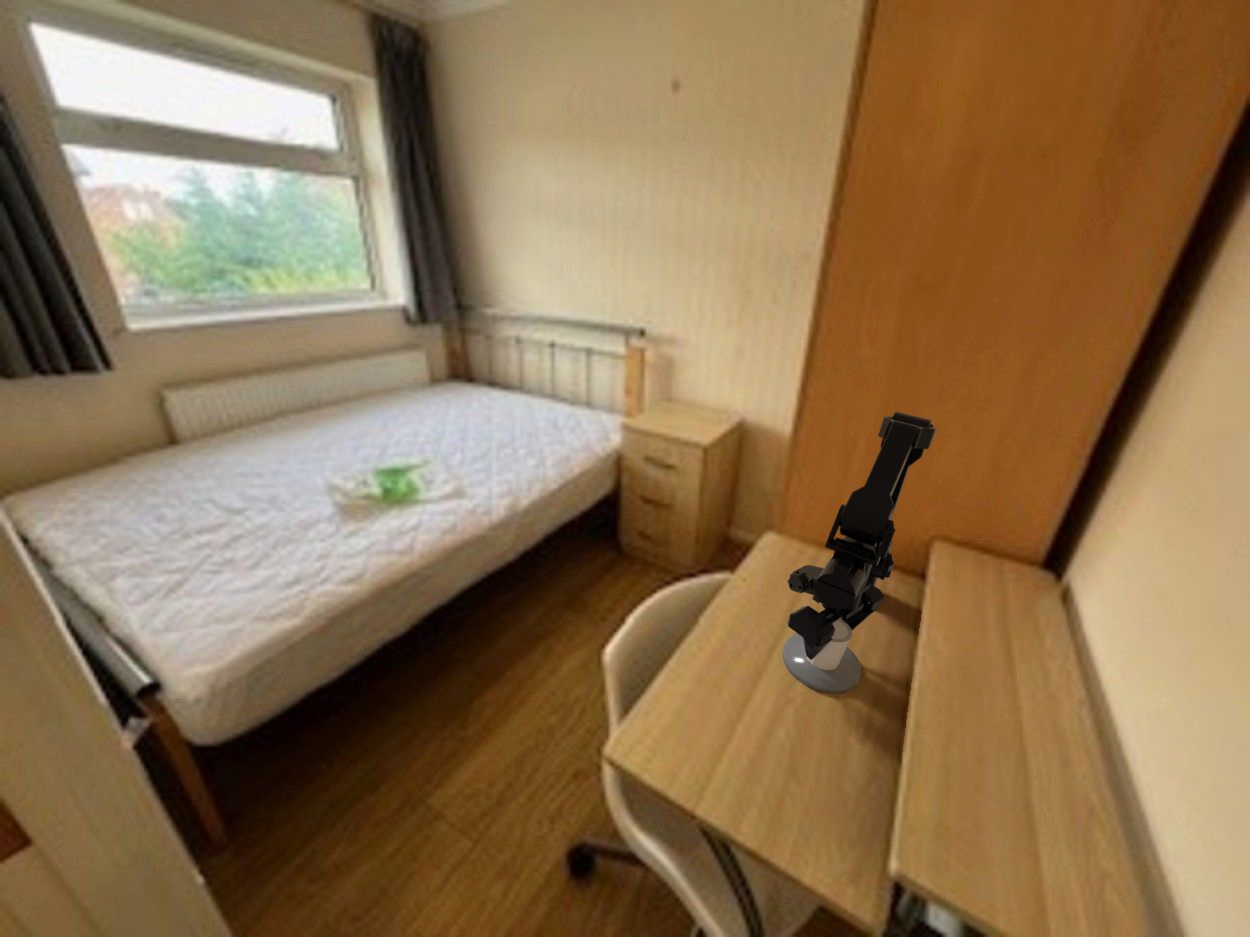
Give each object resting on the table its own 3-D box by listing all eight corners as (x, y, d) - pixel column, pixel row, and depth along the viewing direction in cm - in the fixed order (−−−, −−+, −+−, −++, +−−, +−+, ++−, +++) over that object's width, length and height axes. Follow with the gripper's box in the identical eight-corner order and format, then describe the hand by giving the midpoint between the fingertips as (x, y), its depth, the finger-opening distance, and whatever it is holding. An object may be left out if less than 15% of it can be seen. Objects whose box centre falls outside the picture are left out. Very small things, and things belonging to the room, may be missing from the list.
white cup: (837, 645, 99) (846, 615, 96) (847, 675, 93) (857, 644, 90) (798, 641, 99) (806, 611, 96) (806, 670, 93) (815, 639, 90)
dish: (812, 627, 105) (813, 622, 104) (874, 671, 96) (876, 666, 95) (767, 655, 97) (768, 650, 97) (830, 706, 88) (832, 701, 88)
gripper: (838, 533, 99) (818, 601, 106) (770, 566, 88) (754, 639, 95) (896, 565, 91) (871, 636, 98) (830, 606, 80) (807, 682, 87)
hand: (825, 646), depth 95 cm, fingers open, 9 cm apart
